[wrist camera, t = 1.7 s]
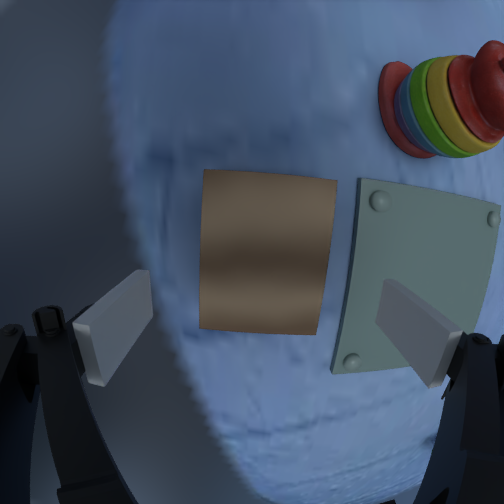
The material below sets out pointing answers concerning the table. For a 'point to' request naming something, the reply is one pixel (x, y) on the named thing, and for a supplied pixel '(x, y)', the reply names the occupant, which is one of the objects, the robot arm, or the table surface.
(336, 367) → the base plate
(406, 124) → the stacking bear
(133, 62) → the table surface
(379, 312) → the robot arm
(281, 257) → the walnut brick
